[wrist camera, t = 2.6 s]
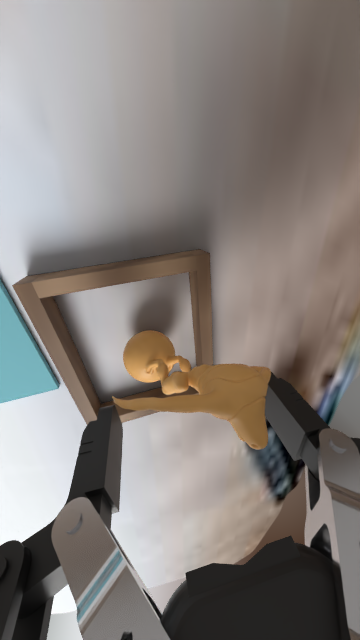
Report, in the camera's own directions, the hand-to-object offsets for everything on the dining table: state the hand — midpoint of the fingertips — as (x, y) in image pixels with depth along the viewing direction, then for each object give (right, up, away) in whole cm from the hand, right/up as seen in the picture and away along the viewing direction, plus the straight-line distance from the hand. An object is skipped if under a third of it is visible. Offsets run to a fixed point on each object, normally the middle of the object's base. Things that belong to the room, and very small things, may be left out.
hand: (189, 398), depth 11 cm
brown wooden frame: (-4, +2, +6) cm, 8 cm away
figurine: (-4, +3, +6) cm, 8 cm away
